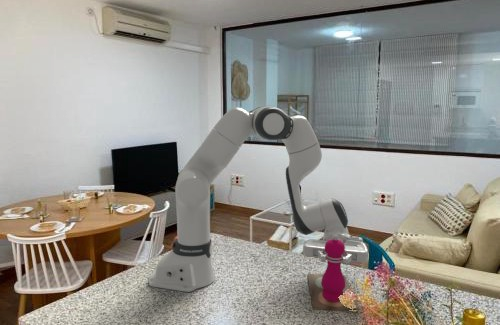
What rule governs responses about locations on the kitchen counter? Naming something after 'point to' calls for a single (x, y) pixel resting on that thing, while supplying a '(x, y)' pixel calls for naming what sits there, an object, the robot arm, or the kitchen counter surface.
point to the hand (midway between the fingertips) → (334, 260)
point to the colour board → (318, 299)
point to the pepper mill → (333, 270)
